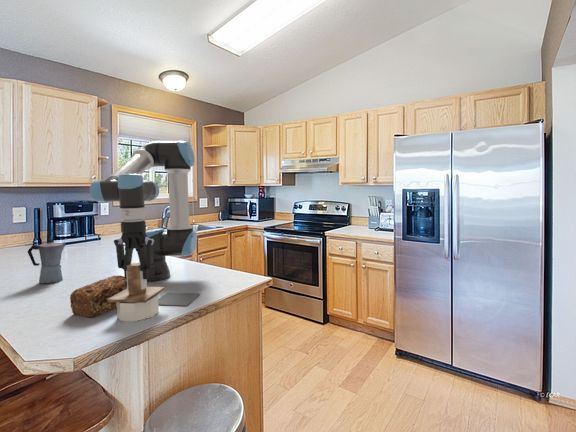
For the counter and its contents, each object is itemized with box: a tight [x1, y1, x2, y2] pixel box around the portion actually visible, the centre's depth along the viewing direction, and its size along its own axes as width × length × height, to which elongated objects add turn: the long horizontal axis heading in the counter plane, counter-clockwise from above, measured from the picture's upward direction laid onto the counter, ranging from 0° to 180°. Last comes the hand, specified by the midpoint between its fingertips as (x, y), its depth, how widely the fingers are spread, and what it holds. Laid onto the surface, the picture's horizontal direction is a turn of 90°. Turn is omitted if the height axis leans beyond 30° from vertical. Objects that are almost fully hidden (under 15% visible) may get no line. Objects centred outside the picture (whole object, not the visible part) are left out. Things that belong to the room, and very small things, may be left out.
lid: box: [107, 262, 166, 303], centre depth 109 cm, size 13×13×11 cm
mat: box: [158, 291, 201, 307], centre depth 123 cm, size 14×13×1 cm
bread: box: [69, 274, 127, 319], centre depth 116 cm, size 19×11×10 cm, turn 158°
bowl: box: [116, 294, 160, 322], centre depth 109 cm, size 12×12×6 cm
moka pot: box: [27, 238, 67, 284], centre depth 148 cm, size 10×15×20 cm, turn 155°
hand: (137, 288), depth 109 cm, fingers closed on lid, 4 cm apart
